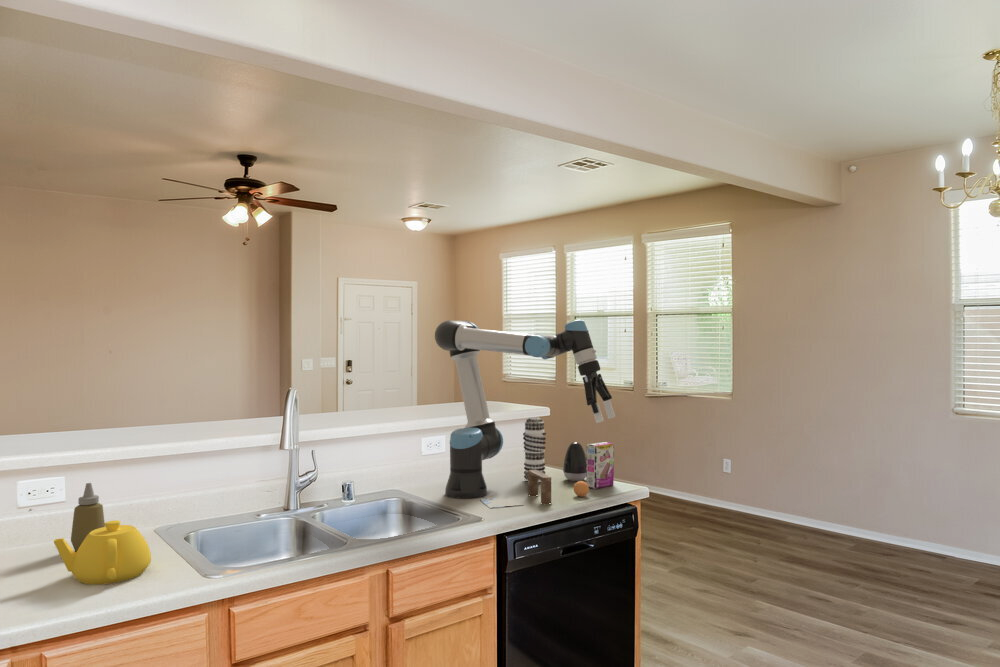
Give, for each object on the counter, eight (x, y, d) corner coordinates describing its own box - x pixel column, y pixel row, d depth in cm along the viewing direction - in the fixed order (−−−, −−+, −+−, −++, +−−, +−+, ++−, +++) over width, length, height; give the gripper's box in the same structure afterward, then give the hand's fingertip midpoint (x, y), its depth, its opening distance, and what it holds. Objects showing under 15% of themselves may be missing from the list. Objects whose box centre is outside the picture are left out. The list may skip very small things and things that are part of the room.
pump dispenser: (588, 477, 273) (587, 440, 274) (588, 482, 263) (588, 444, 263) (562, 477, 274) (562, 439, 275) (562, 482, 264) (562, 443, 264)
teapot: (150, 559, 172) (150, 509, 172) (151, 582, 156) (152, 527, 156) (57, 572, 163) (57, 519, 163) (48, 598, 146) (48, 540, 146)
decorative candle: (535, 477, 274) (535, 416, 274) (551, 481, 267) (550, 418, 267) (518, 480, 268) (518, 417, 269) (533, 484, 261) (533, 419, 261)
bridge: (543, 505, 228) (543, 477, 228) (528, 495, 241) (528, 470, 242) (551, 504, 229) (551, 477, 229) (536, 495, 242) (536, 469, 243)
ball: (571, 495, 242) (571, 480, 242) (585, 494, 243) (584, 479, 244) (577, 498, 237) (577, 483, 237) (591, 497, 238) (591, 482, 238)
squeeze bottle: (66, 557, 174) (66, 487, 174) (76, 547, 182) (76, 481, 182) (101, 554, 177) (101, 485, 177) (109, 545, 184) (109, 479, 185)
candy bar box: (596, 489, 251) (595, 445, 251) (585, 487, 255) (585, 444, 255) (614, 485, 259) (614, 442, 259) (604, 483, 262) (604, 441, 262)
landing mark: (479, 500, 235) (479, 499, 235) (512, 497, 238) (512, 497, 238) (490, 508, 223) (490, 507, 223) (523, 505, 227) (523, 505, 227)
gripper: (585, 360, 226) (605, 420, 222) (607, 358, 248) (625, 413, 245) (565, 367, 229) (584, 427, 226) (589, 364, 251) (607, 419, 248)
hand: (606, 420), depth 235 cm, fingers open, 13 cm apart
